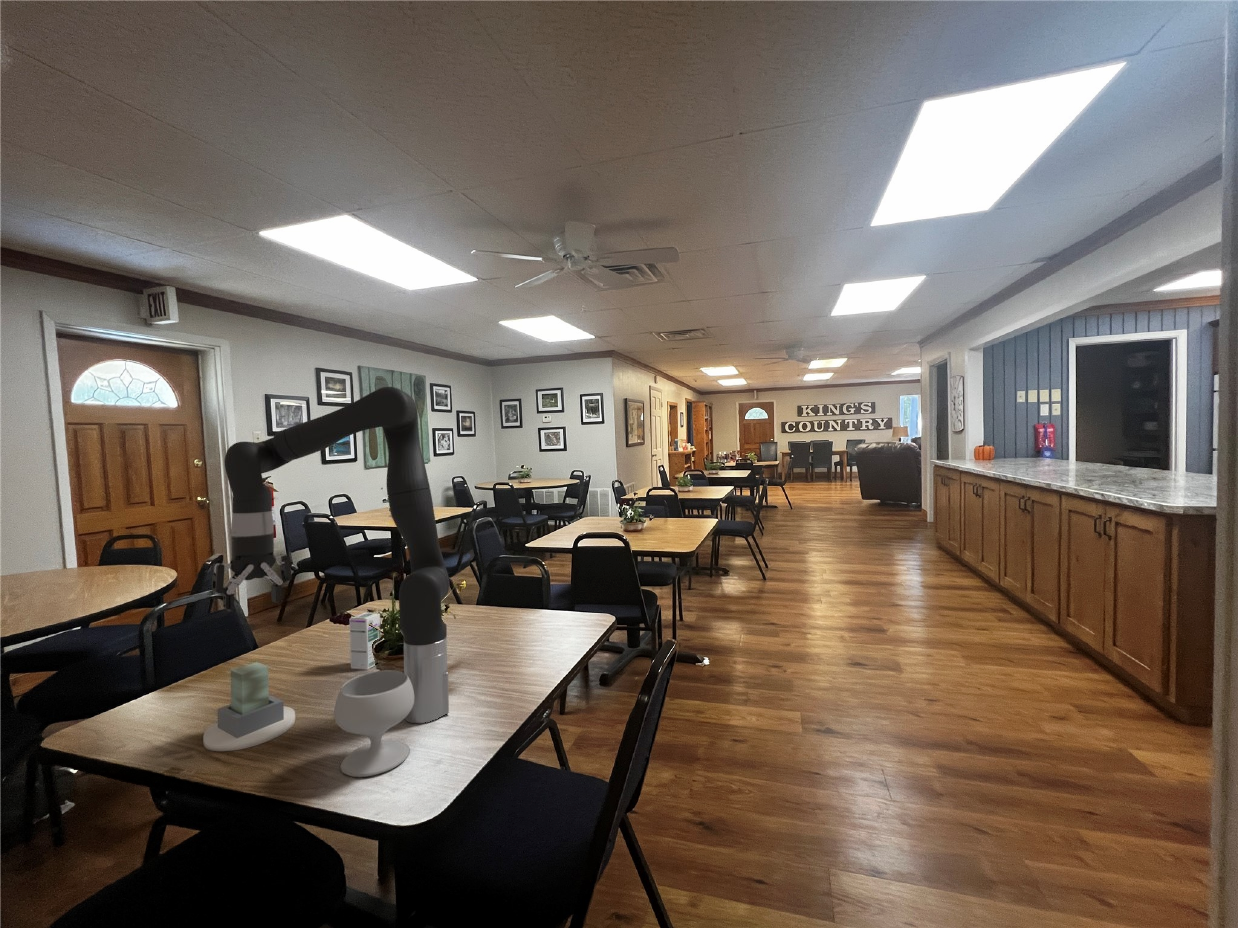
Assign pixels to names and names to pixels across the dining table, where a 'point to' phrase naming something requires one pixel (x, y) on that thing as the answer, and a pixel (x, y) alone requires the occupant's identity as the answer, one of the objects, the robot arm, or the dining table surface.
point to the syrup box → (363, 639)
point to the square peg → (249, 688)
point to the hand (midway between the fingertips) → (253, 606)
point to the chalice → (374, 719)
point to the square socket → (248, 726)
